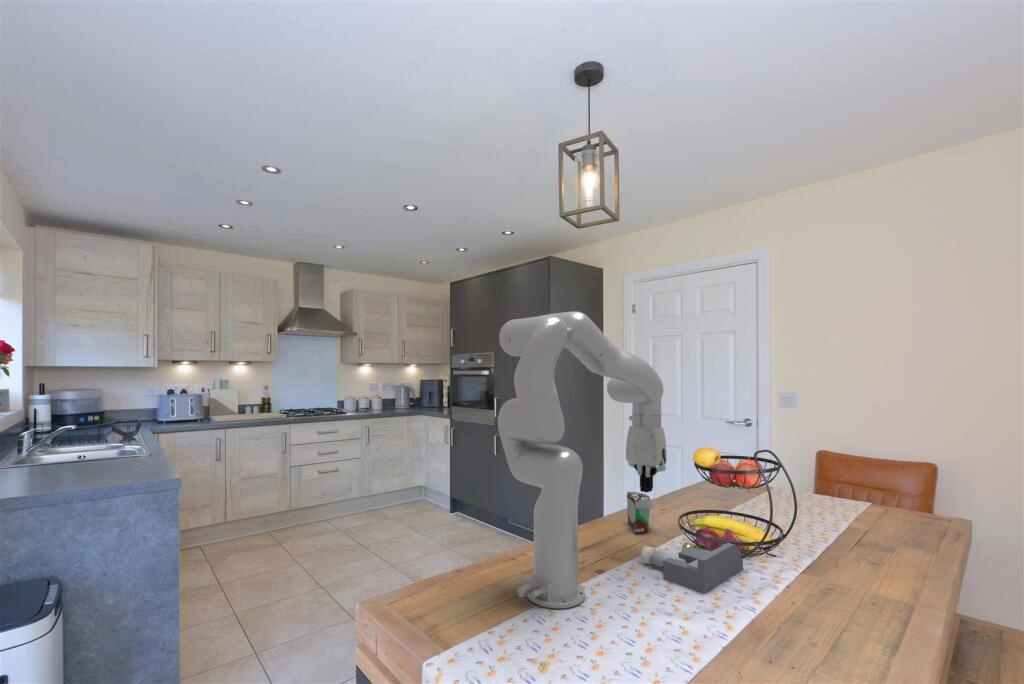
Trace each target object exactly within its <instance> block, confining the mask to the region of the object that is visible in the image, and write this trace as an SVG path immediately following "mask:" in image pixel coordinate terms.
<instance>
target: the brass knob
mask: <svg viewBox="0 0 1024 684" xmlns="http://www.w3.org/2000/svg"><path fill="white" fill-rule="evenodd" d="M689 547H691V548H694V549H698V550H701V551H705V552H708V553H709V552H711V551H708V550H705V549H701V548H698V546H697V544H694V543H691V542H684V543H683V545H682V549H681V551H683V550H685V549H687V548H689Z"/></svg>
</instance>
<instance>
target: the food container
mask: <svg viewBox="0 0 1024 684" xmlns="http://www.w3.org/2000/svg"><path fill="white" fill-rule="evenodd" d="M626 503H627V505H626V506H627V507H626V508H627V511H626V512H627V525H628V527H629V528H630V530H631V531H632V533H633V534H634V535H635V536H636V535H643V534H644V535H645V534H647V533H648V532H649V520H650V518H649V517H650V507H652V506H653V503H652V499H651V498H650V496H649V495H648V494H645V493H642V492H635V491H626Z"/></svg>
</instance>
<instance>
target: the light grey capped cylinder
mask: <svg viewBox="0 0 1024 684" xmlns="http://www.w3.org/2000/svg"><path fill="white" fill-rule="evenodd" d="M669 557H670V558H673V559H676V560H679V561H682V562H686V560H685V559H681V558H679V556H676V555H675V556H674V555H672V554H668V553H665V552H662V551H659V550H657V549H656V547H653V546H650V545H644V546H642V549H641V553H640V558H641V561H642V562H643V563H646V564H648V565H653V564H654V565H658V566H660V567H663V560H665V559H667V558H669Z"/></svg>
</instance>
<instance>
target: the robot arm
mask: <svg viewBox="0 0 1024 684" xmlns="http://www.w3.org/2000/svg"><path fill="white" fill-rule="evenodd" d="M498 341H499V344H500V347H501V349H502V350H503V351H504V352H505V353H506V354H508V355H509V356H512V357H520V358H519V360H518V362H517V365H516V368H515V371H514V374H513V375H514V378H513V384H514V385H513V386H514V390H515V395H516V398H511V399H508V400H507V401H505V402H504V403H503V404H502V406H501V407H500V410H499V412H498V417H497V427H498V432H499V433H498V434H499V437H500V440H501V444H502V448H503V451H504V455H505V459H506V463H507V465H508V468H509V470H510V473H511V475H512V477H514V479H516V480H517V481H518V482H521V483H523V484H527V485H531V486H533V487H537V488H540V489H541V490H540V491H541V492H540V494H539V496H538V498H537V499H536V502H535V504H534V506H533V507H534V508H533V573H532V574H530V575H529V581H528V582H527V584H524V585H521V586H519V587H517V590H516V593H517V595H518V597H520V598H523V597H527V599H529V601H530V602H532V603H533V604H536V605H538V606H541V607H544V608H547V609H569V608H573V607H575V606H576V607H577V606H578V605H580V604H581V603H582V602H584V600H585V598H586V591H585V588H584V586H582V585H581V584H580V583H579V580H578V579H579V574H578V571H579V568H578V567H579V563H578V562H579V561H578V560H579V553H578V552H579V549H578V548H579V539H578V538H579V520H578V519H579V513H578V511H579V495H580V487H581V484H582V479H583V471H584V470H583V469H584V467H583V462H582V460H581V457H580V456H579V455H578V453H576V451H574V450H573V449H572V448H569V447H566V446H563V445H562V446H561V445H556V443H557V442H559V441H560V440H561V439H562V438H563V437H564V435H565V430H566V429H565V427H566V426H565V419H564V414H563V411H562V407H561V403H560V398H559V395H558V392H557V388H556V387H557V386H556V382H555V381H556V380H555V368H556V365H557V362H558V359H559V357H560V356H561V353H562V351H563V350H564V349H566V350H569V351H570V353H572V354H573V355H574V357H575V358H577V360H579V362H581V363H582V364H583V365H584V366H585V368H586V369H587V370H588V371H590V372H591V373H593V374H597V375H599V376H602V377H606V378H609V380H608V382H607V383H606V390H607V391H606V392H607V394H608V396H609V397H610V398H611V399H612V400H613V401H615V402H618V403H624V404H632V405H631V407H632V409H631V410H632V411H631V412H632V414H631V415H629V417H628V420H629V421H631V425H629V427H628V430H627V435H626V444H625V445H626V446H625V459H626V461H627V463H628V466H629V467H632V468H634V469H635V470H636V472H637V475H638V476H639V487H640V489H639V490H640V492H641V493H642V492H643V493H650V492H653V488H654V477H655V476H656V474H657V473H659V472H661V473H662V472H665V471H666V470H667V469H666V465H667V457H668V456H667V440H666V434H665V430H664V427H662V398H663V395H664V383H663V382H662V378H661V377H660V375H659V374H658V373H657V371H656V370H655V369H654V368H653V367H652V366H651V365H650V364H649V363H648V362H647V361H645V360H644V359H642V358H641V357H639V356H637V355H635V354H633V353H631V352H628V351H627V350H625V349H622V348H620V347H618V346H616V345H614V344H613V343H612V342H611V340H610V339H609V338H608V336H606V335H605V334H604V333H603V331H602V330H601V329H600V328H599V327H598V326H597V325H596V324H595V323H594V322H593V320H591V318H590V317H589V316H588V315H586V314H585V313H583V312H581V311H565V312H564V311H563V312H557V313H548V314H542V315H539V316H538V315H537V316H531V317H524V318H516V319H511V320H509V321H507V322H506V323H504V324H503V325H502V327H501V329H500V331H499V336H498Z"/></svg>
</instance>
